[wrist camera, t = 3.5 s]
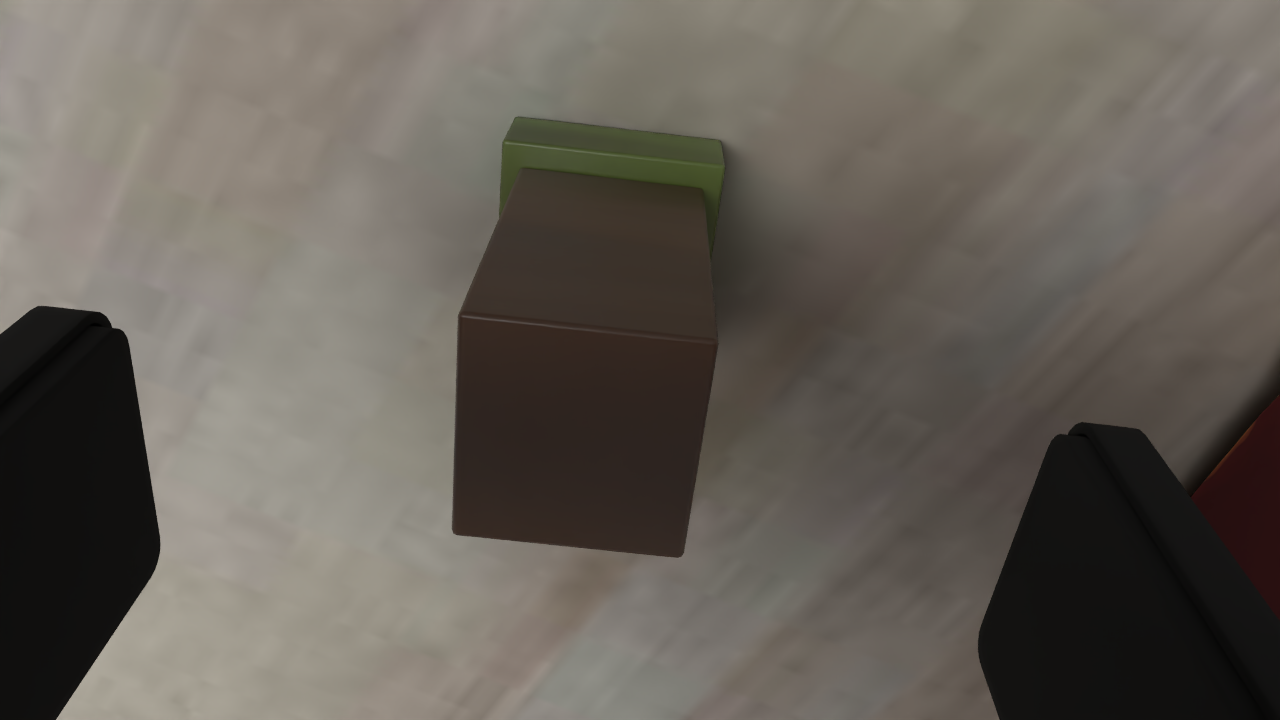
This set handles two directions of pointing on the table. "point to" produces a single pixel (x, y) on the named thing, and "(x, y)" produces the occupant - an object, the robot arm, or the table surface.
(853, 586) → the table surface
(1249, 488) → the book monster
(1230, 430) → the table surface
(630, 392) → the scrub brush
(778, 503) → the table surface
